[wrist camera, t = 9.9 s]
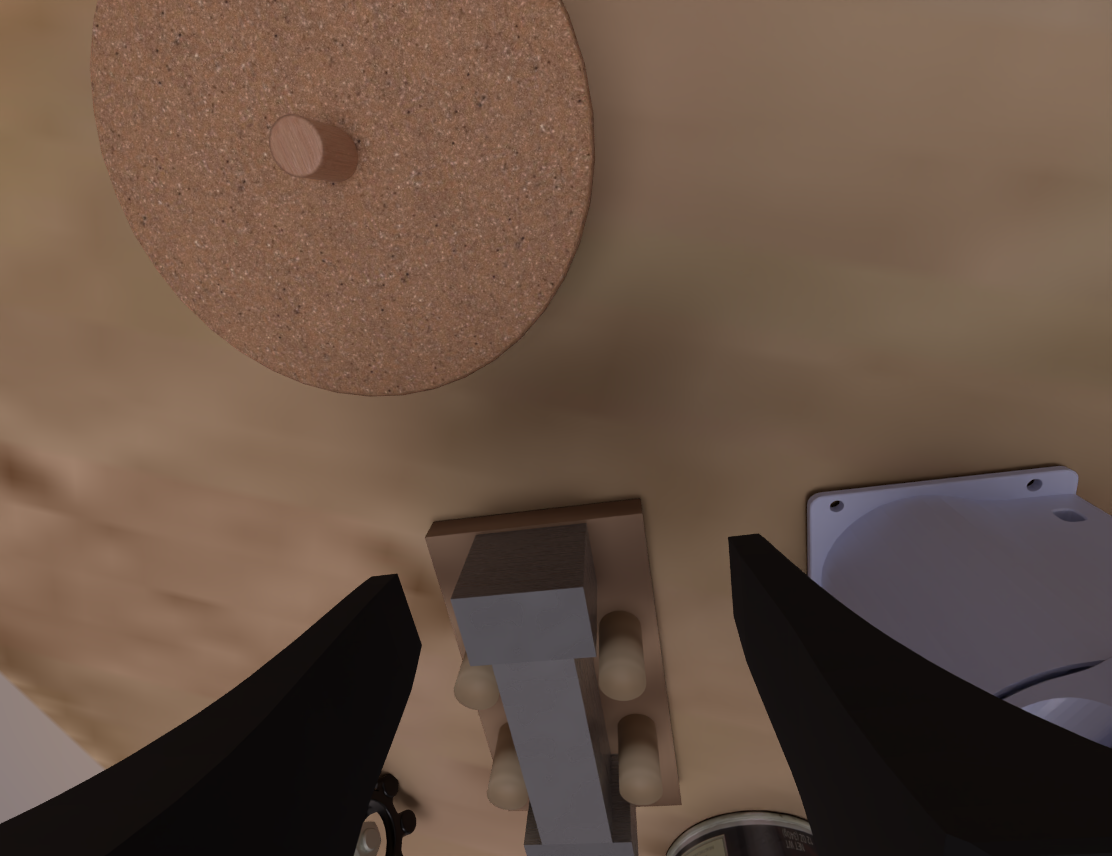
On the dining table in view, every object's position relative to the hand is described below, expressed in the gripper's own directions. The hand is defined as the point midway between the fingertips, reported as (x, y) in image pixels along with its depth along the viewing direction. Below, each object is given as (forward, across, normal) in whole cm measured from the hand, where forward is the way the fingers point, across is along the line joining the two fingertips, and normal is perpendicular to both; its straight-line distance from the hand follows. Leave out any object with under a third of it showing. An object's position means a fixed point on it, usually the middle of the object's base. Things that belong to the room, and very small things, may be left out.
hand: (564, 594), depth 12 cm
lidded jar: (+11, +3, -9) cm, 15 cm away
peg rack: (+10, +2, +12) cm, 16 cm away
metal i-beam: (+9, +2, +12) cm, 15 cm away
